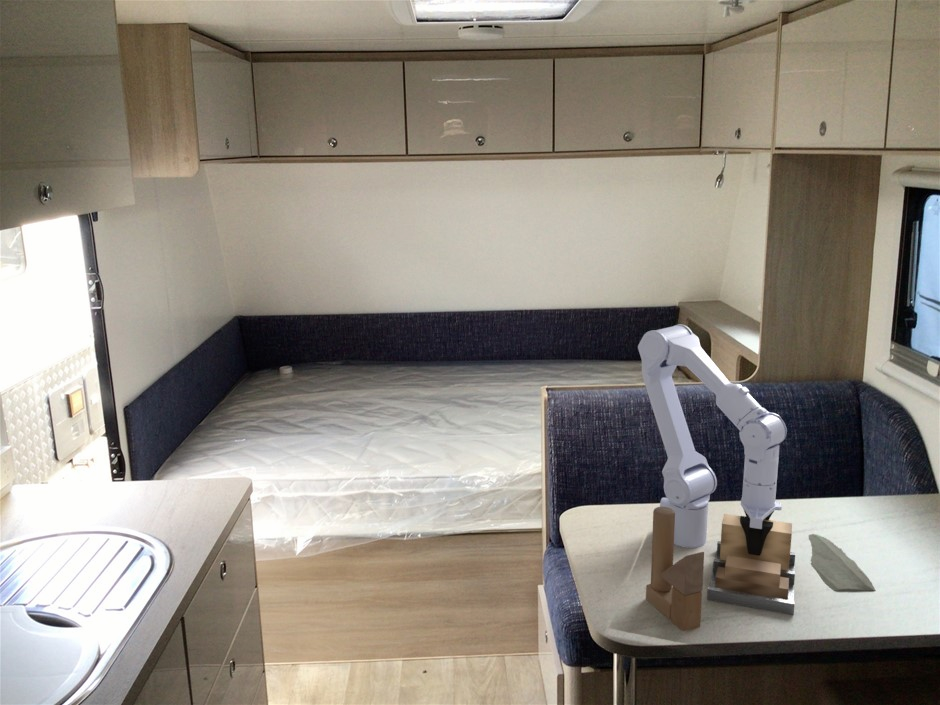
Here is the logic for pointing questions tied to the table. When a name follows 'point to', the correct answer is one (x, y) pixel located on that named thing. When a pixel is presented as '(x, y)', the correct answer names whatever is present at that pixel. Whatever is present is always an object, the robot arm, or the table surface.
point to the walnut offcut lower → (752, 586)
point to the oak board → (774, 544)
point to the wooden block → (674, 575)
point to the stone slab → (837, 567)
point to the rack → (753, 599)
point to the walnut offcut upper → (752, 571)
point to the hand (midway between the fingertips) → (755, 547)
